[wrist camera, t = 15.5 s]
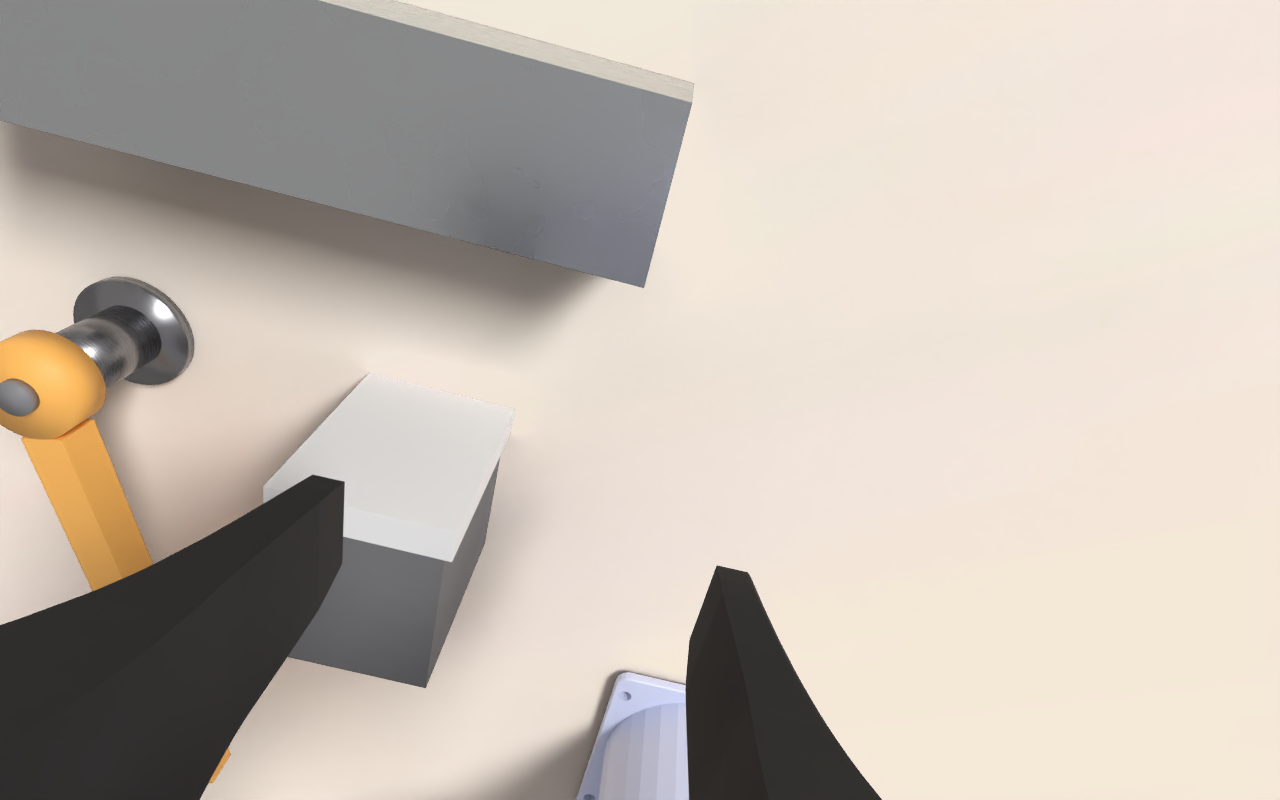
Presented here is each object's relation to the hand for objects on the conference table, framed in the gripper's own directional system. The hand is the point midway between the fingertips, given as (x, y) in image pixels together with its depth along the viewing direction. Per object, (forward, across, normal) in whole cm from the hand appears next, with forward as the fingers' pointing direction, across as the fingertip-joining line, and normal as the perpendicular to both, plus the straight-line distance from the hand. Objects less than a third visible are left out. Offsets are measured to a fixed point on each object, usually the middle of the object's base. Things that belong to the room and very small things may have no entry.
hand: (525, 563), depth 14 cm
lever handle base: (+10, +15, +3) cm, 18 cm away
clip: (+7, +13, +10) cm, 18 cm away
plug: (+10, +5, +7) cm, 13 cm away
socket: (+10, +7, -6) cm, 14 cm away
